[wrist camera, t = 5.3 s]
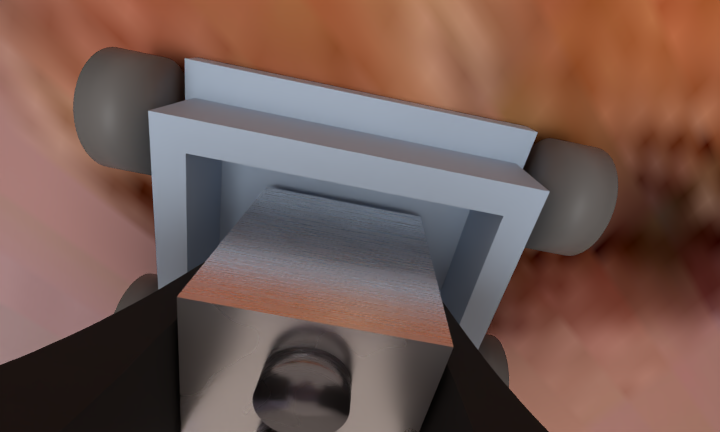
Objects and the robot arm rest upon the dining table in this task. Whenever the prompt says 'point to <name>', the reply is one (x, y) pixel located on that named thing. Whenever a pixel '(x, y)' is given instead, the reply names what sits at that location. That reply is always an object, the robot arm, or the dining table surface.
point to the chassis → (339, 170)
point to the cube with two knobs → (312, 322)
